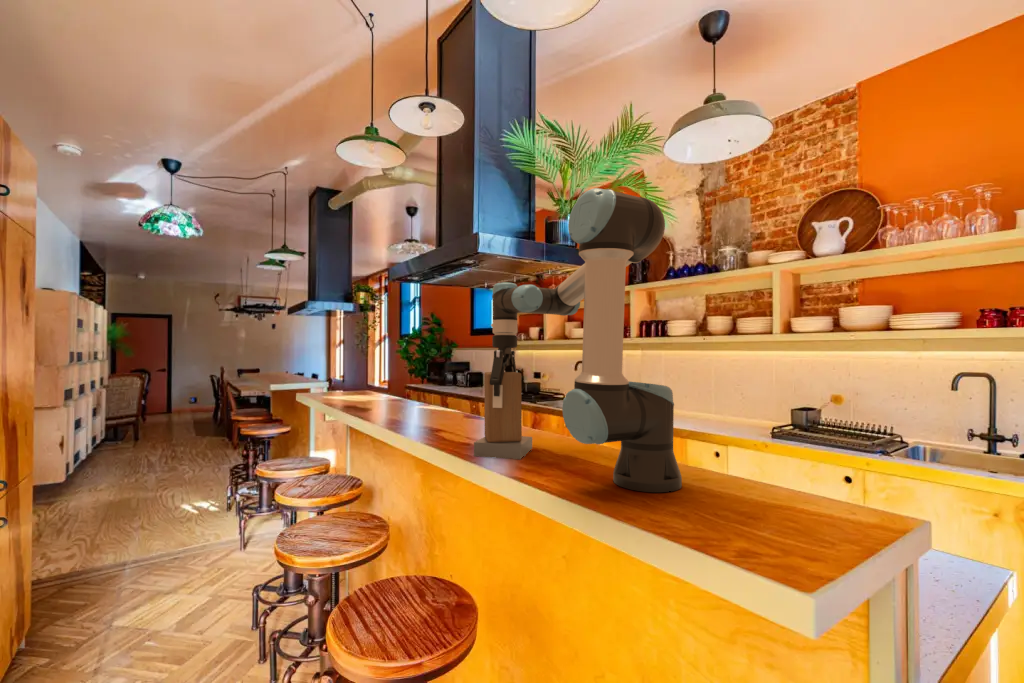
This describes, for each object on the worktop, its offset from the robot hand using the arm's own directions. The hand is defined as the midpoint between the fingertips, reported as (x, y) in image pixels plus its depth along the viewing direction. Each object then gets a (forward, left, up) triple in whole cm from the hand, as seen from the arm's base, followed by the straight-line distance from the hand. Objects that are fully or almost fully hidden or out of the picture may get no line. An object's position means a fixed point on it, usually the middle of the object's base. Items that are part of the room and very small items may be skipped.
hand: (504, 405), depth 140 cm
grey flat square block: (0, 0, -14) cm, 14 cm away
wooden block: (0, 0, -10) cm, 10 cm away
